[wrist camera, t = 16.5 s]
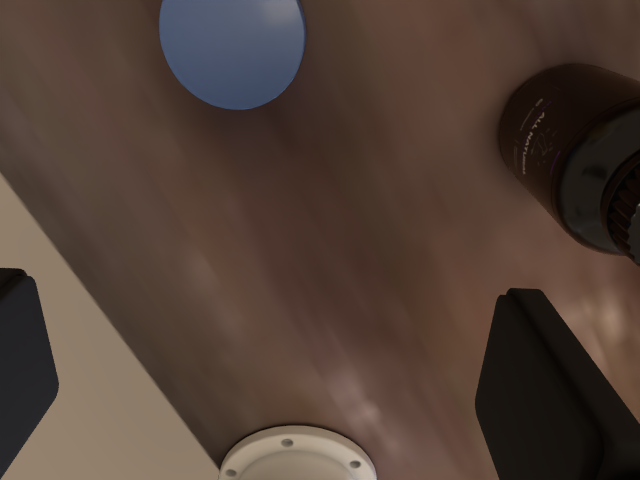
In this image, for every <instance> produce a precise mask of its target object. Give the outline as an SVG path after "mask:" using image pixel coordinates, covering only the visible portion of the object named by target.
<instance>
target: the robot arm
mask: <svg viewBox="0 0 640 480" xmlns="http://www.w3.org/2000/svg"><path fill="white" fill-rule="evenodd" d="M58 386H59V382H58V377H57V372H56V368H55V364H54V359H53V355H52V351H51V346H50V342H49V338H48V334H47V329H46V325H45V321H44V317H43V312H42V308H41V304H40V299H39V295H38V291H37V286H36V283H35V280H34V279H33V278H32V277H31V276H27V274H26V272H25V271H24V270H22V269H15V268H0V479H1V478H2V476H3V475H4V473H5V472H6V470H7V469H8V467H9V466H10V465H11V463H12V461H13V460H14V459H15V457H16V456H17V454H18V453H19V451H20V450H21V448H22V447H23V445H24V444H25V442H26V441H27V440H28V438H29V436H30V435H31V434H32V432H33V431H34V429H35V428H36V426H37V425H38V423H39V422H40V420H41V419H42V418H43V416H44V414H45V413H46V411H47V410H48V409H49V407H50V406H51V404H52V403H53V401H54V400H55V398H56V396H57V393H58V388H59V387H58ZM475 409H476V415H477V418H478V421H479V424H480V426H481V429H482V432H483V435H484V438H485V440H486V443H487V446H488V449H489V452H490V454H491V457H492V460H493V463H494V465H495V468H496V471H497V474H498V477H499V479H500V480H640V424H639V423H638V421H637V420H636V418H635V417H634V416H633V414H632V413H631V412H630V410H629V409H628V408H627V406H626V405H625V403H624V402H623V401H622V399H621V398H620V397H619V395H618V394H617V393H616V391H615V390H614V389H613V387H612V386H611V384H610V383H609V382H608V380H607V379H606V378H605V376H604V375H603V374H602V372H601V371H600V369H599V368H598V367H597V365H596V364H595V363H594V361H593V360H592V359H591V357H590V356H589V354H588V353H587V352H586V350H585V349H584V348H583V346H582V345H581V344H580V342H579V341H578V339H577V338H576V337H575V335H574V334H573V333H572V331H571V330H570V329H569V327H568V326H567V324H566V323H565V322H564V320H563V319H562V318H561V316H560V315H559V314H558V312H557V311H556V309H555V308H554V307H553V305H552V304H551V303H550V301H549V300H548V299H547V297H546V296H545V294H544V293H543V292H542V291H541V290H539V289H521V288H510V289H509V290H508V291H507V293H506V295H500V296H499V297H498V298H497V302H496V306H495V311H494V315H493V320H492V324H491V329H490V333H489V338H488V342H487V347H486V352H485V356H484V361H483V365H482V370H481V374H480V379H479V384H478V388H477V393H476V398H475ZM218 480H377V476H376V472H375V468H374V465H373V464H372V462H371V460H370V458H369V457H368V456H367V454H366V453H365V452H364V451H363V450H362V449H361V448H360V447H359V446H357V445H356V444H355V443H353V442H352V441H351V440H349V439H347V438H345V437H343V436H341V435H339V434H337V433H334V432H331V431H328V430H325V429H322V428H316V427H310V426H293V425H290V426H281V427H274V428H270V429H266V430H262V431H259V432H257V433H255V434H252V435H250V436H248V437H246V438H245V439H243V440H242V441H240V442H239V443H237V444H236V445H235V446H234V447H233V448H232V449H231V450H230V451H229V452H228V453H227V455H226V457H225V459H224V460H223V462H222V465H221V469H220V473H219V477H218Z"/></svg>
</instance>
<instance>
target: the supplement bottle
mask: <svg viewBox="0 0 640 480" xmlns="http://www.w3.org/2000/svg"><path fill="white" fill-rule="evenodd" d="M500 148H501V153H502V156H503V158H504V161H505V163H506V164H507V166H508V168H509V169H510V170H511V172H512V173H513V174H514V175H515V177H516V178H517V179H518V180H519V181H520V182H521V183H522V184H523V185H524V187H525V188H526V189H527V190H528V191H529V192H530V193H531V194H532V195H533V196H534V198H535V199H536V200H537V201H538V202H539V203H540V204H541V205H542V206H543V207H544V209H545V210H546V211H547V212H548V213H549V214H550V215H551V216H552V217H553V218H554V220H555V221H556V222H557V223H558V224H559V225H560V226H561V227H562V228H563V229H564V230H565V232H566V233H568V234H569V235H570V236H571V237H572V238H573V239H574V240H575V241H577V242H578V243H580V244H581V245H583V246H585V247H586V248H588V249H591V250H593V251H596V252H599V253H603V254H608V255H615V256H627V257H629V258H630V259H631V260H632V261H633V262H634V263H635V264H636V265H637V266H638V267H640V81H637V80H635V79H632V78H629V77H626V76H623V75H620V74H618V73H615V72H612V71H609V70H606V69H603V68H600V67H596V66H592V65H586V64H569V65H563V66H559V67H556V68H553V69H550V70H548V71H546V72H544V73H542V74H540V75H538V76H537V77H535V78H534V79H532V80H531V81H529V82H528V83H527V84H526V85H525V86H524V87H523V88H522V89H521V90H520V91H519V92H518V93H517V94H516V95H515V97H514V98H513V100H512V101H511V102H510V104H509V106H508V108H507V110H506V112H505V114H504V117H503V120H502V123H501V128H500Z"/></svg>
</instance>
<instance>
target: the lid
mask: <svg viewBox="0 0 640 480" xmlns="http://www.w3.org/2000/svg"><path fill="white" fill-rule="evenodd" d="M159 36H160V42H161V46H162V50H163V53H164V56H165V58H166V61H167V63H168V65H169V67H170V69H171V70H172V72H173V73H174V75H175V76H176V78H177V79H178V80H179V81H180V83H181V84H182V85H183V86H184V87H185V88H186V89H187V90H188V91H190V92H191V93H192V94H193V95H195V96H196V97H198V98H199V99H201V100H203V101H204V102H206V103H209V104H211V105H214V106H216V107H220V108H224V109H232V110H244V109H251V108H254V107H258V106H261V105H263V104H265V103H268V102H269V101H271V100H273V99H274V98H276V97H277V96H278V95H279V94H281V93H282V92H283V91H284V90H285V89H286V88H287V86H288V85H289V84H290V83H291V81H292V80H293V78H294V77H295V75H296V73H297V71H298V69H299V66H300V63H301V60H302V58H303V54H304V50H305V46H306V22H305V16H304V12H303V9H302V6H301V3H300V1H299V0H163V1H162V4H161V9H160V15H159Z"/></svg>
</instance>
